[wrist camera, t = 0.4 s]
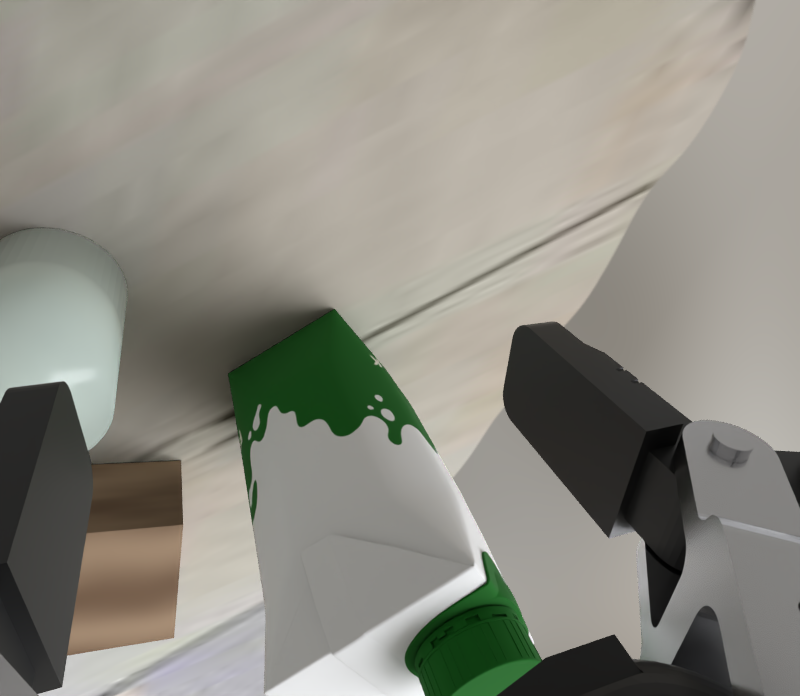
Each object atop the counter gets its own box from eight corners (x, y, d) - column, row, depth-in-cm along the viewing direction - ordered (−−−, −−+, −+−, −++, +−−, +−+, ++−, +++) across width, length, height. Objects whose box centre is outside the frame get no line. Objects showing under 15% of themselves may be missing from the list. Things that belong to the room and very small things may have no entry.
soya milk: (403, 386, 37) (582, 697, 21) (285, 458, 36) (375, 825, 21) (340, 287, 31) (517, 607, 15) (201, 372, 31) (237, 780, 15)
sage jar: (-30, 219, 24) (-114, 326, 16) (128, 236, 26) (114, 334, 19) (-15, 341, 26) (-80, 476, 19) (127, 345, 29) (114, 467, 22)
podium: (-171, 476, 27) (-228, 561, 23) (180, 460, 34) (183, 524, 30) (-129, 605, 32) (-170, 694, 28) (173, 570, 38) (173, 637, 35)
